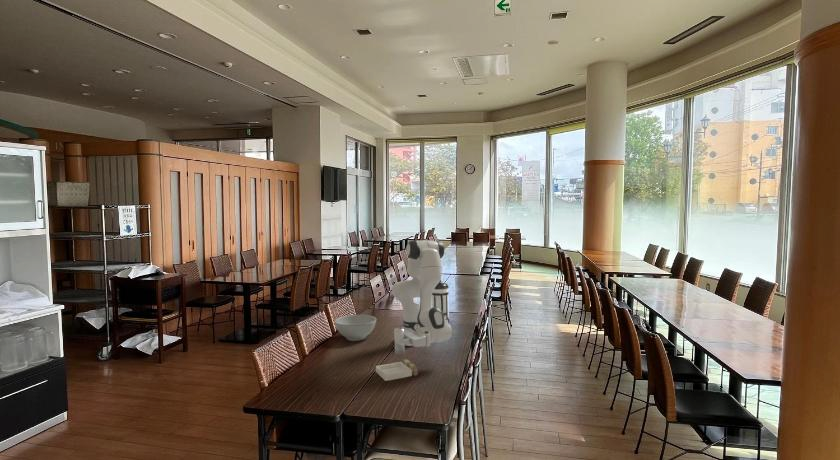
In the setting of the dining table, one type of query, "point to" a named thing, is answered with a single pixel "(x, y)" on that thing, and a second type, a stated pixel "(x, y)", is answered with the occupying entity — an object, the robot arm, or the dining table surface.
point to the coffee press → (441, 298)
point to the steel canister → (397, 336)
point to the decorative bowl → (355, 326)
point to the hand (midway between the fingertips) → (397, 340)
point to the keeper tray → (393, 371)
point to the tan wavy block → (411, 366)
